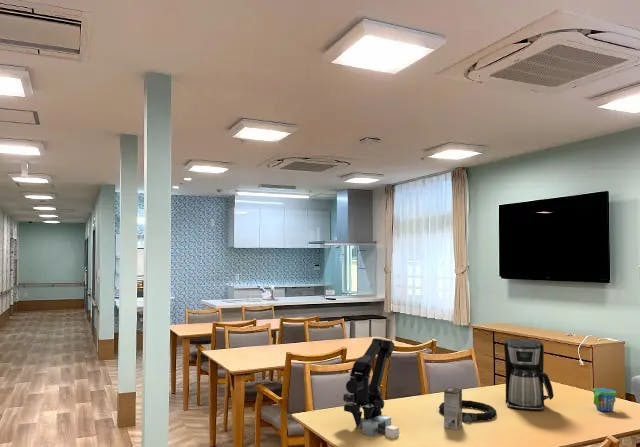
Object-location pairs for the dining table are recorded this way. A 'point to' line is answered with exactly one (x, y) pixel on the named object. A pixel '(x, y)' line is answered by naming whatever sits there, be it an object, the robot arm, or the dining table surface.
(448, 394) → the coffee box
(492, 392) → the dining table surface
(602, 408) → the snack cup
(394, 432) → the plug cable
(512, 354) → the coffee maker
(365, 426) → the motor housing
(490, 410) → the cable lock
